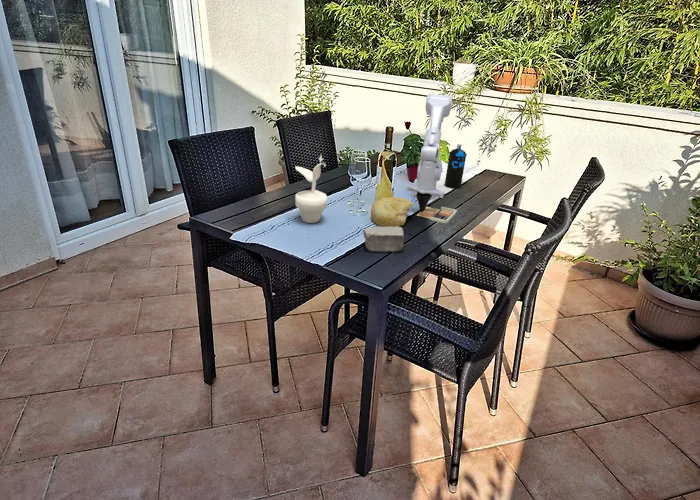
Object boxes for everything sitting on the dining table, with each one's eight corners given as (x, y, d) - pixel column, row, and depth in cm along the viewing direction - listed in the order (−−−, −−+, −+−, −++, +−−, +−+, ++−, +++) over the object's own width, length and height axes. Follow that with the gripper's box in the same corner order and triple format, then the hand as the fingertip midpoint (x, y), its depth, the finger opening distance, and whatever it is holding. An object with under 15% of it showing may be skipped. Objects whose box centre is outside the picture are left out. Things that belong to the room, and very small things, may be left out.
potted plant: (332, 219, 171) (335, 153, 160) (314, 228, 162) (316, 160, 151) (304, 211, 177) (305, 147, 166) (286, 220, 168) (286, 153, 157)
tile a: (438, 217, 178) (439, 212, 177) (441, 214, 182) (442, 209, 181) (448, 219, 177) (449, 214, 176) (451, 216, 180) (452, 211, 179)
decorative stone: (411, 251, 151) (394, 238, 159) (413, 232, 148) (397, 220, 155) (373, 259, 144) (358, 245, 152) (375, 240, 141) (359, 227, 149)
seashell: (363, 226, 174) (383, 233, 160) (362, 198, 171) (382, 202, 158) (401, 221, 180) (422, 227, 167) (400, 193, 178) (422, 198, 165)
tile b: (422, 216, 175) (422, 211, 175) (425, 213, 179) (426, 208, 178) (432, 218, 174) (432, 213, 173) (435, 215, 177) (436, 210, 176)
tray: (429, 223, 173) (430, 217, 172) (440, 212, 185) (441, 206, 184) (445, 227, 171) (446, 220, 170) (456, 215, 182) (457, 210, 181)
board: (415, 218, 177) (416, 215, 176) (425, 209, 186) (426, 206, 186) (430, 222, 174) (430, 218, 174) (439, 213, 184) (440, 209, 183)
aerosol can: (440, 183, 220) (447, 142, 211) (455, 183, 222) (462, 142, 214) (449, 189, 213) (455, 146, 204) (464, 188, 215) (471, 146, 207)
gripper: (404, 176, 171) (401, 210, 177) (441, 183, 165) (436, 218, 171) (411, 172, 176) (407, 205, 182) (447, 179, 170) (442, 212, 176)
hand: (422, 211), depth 177 cm, fingers closed
